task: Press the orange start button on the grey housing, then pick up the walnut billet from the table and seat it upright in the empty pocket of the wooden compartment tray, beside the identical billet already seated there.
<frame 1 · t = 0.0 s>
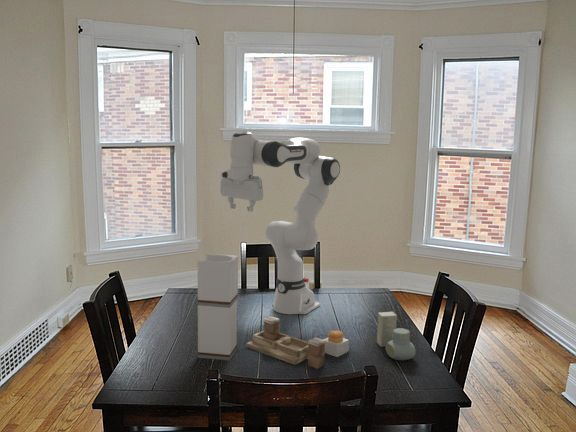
hand: (241, 209, 223), 48 cm above the table, tool pointing down, fingers open, 8 cm apart
tall open-top box: (218, 353, 206), on the table
start button: (335, 337, 208), point 5 cm above the table, slide at 0.0 cm
button housing: (335, 351, 209), on the table
skincare box: (385, 344, 217), on the table
wooden compartment tray: (282, 349, 210), on the table
billet: (316, 365, 197), on the table
air freshener: (399, 357, 206), on the table
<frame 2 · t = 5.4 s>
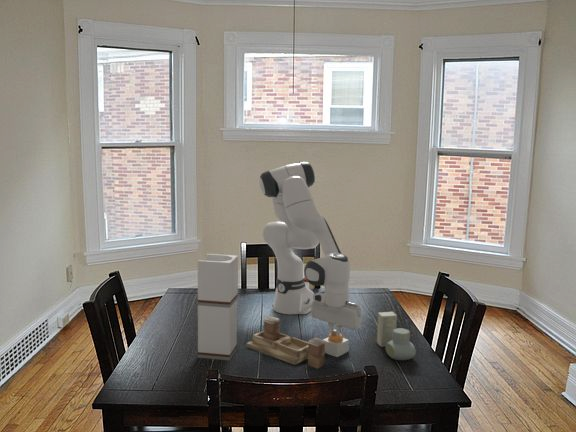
hand: (335, 335, 208), 6 cm above the table, tool pointing down, fingers closed, pressing on start button
start button: (335, 339, 208), point 5 cm above the table, slide at 0.9 cm, touching gripper
everything else where it was.
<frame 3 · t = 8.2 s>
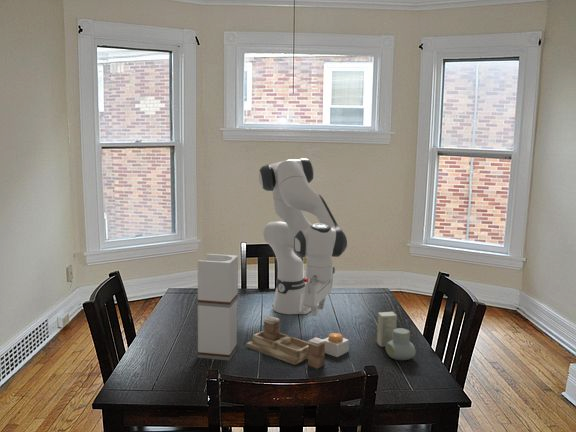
hand: (317, 312, 194), 19 cm above the table, tool pointing down, fingers open, 5 cm apart
start button: (335, 340, 208), point 4 cm above the table, slide at 1.1 cm
everything else where it was.
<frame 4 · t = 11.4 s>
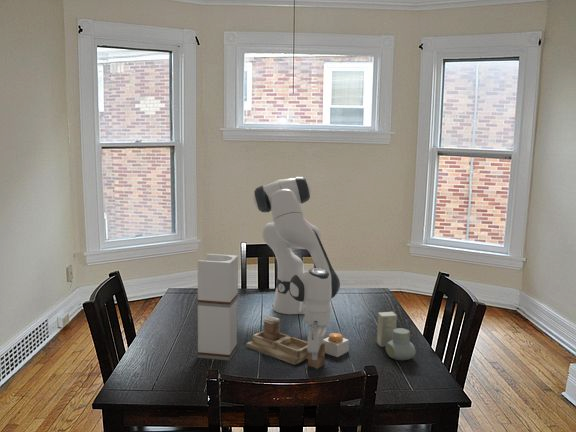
hand: (316, 355, 197), 4 cm above the table, tool pointing down, fingers closed on billet, 5 cm apart
billet: (316, 365, 197), on the table, touching gripper
everything else where it was.
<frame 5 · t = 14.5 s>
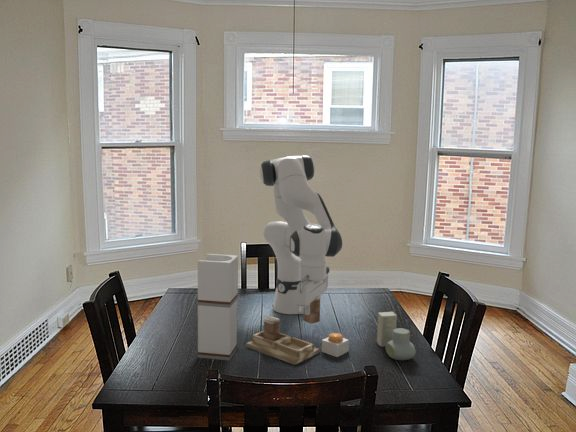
hand: (311, 310, 198), 18 cm above the table, tool pointing down, fingers closed on billet, 5 cm apart
billet: (311, 320, 198), point 15 cm above the table, touching gripper
everything else where it was.
when the fingers open (7 cm above the table, at t = 18.0 s): billet drops 1 cm, resting on wooden compartment tray.
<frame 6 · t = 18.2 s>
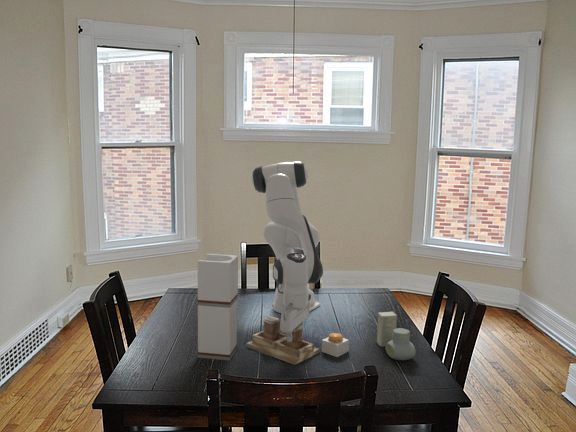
hand: (294, 336, 205), 7 cm above the table, tool pointing down, fingers open, 8 cm apart
billet: (294, 349, 206), point 2 cm above the table, touching wooden compartment tray
everything else where it was.
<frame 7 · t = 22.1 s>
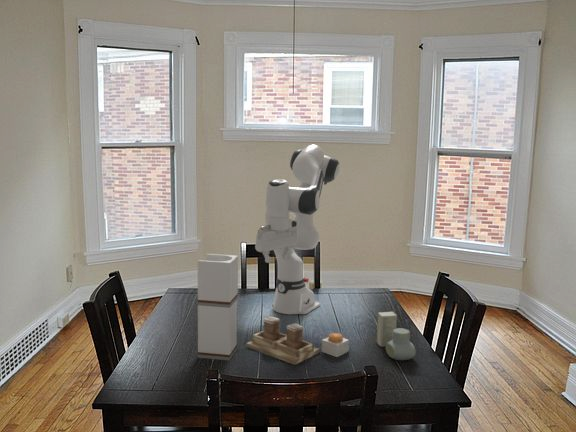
hand: (276, 260, 215), 31 cm above the table, tool pointing down, fingers open, 8 cm apart
nothing on the table moved.
at the end: billet 0.1 cm from the target spot on the wooden compartment tray, point 1.5 cm above the wooden compartment tray's base; billet tilted 0°; start button slide at 1.1 cm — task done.
